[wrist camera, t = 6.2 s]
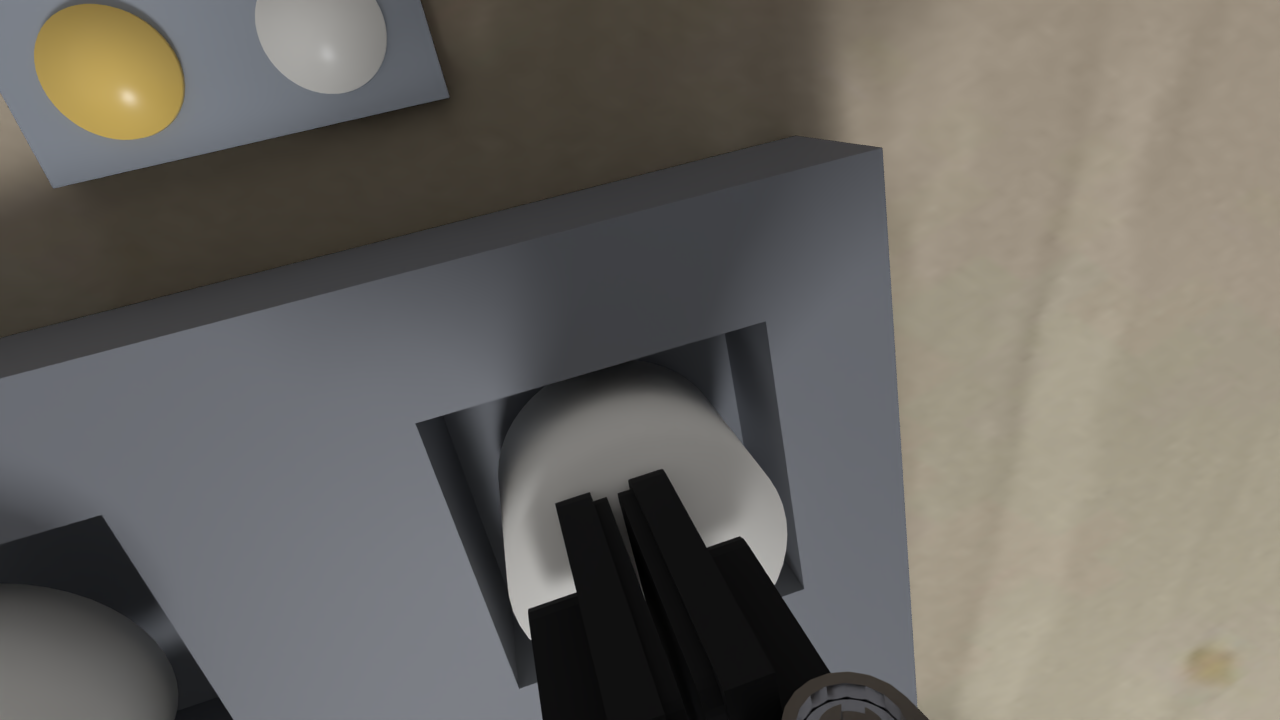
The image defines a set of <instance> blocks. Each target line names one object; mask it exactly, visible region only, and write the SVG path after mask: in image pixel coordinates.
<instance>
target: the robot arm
mask: <svg viewBox="0 0 1280 720" xmlns="http://www.w3.org/2000/svg"><path fill="white" fill-rule="evenodd" d="M628 483H629V488H630V489H629V490H626V491H623V492H620V493H618V499H619V503H620V506H621V510H622V514H623V518H624V521H625V525H626V529H627V533H628V536H629V540H630V544H631V548H632V551H633V555H634V559H635V563H636V566H637V570H638V574H639V578H640V581H641V585H642V589H643V592H642V590H641V587H640V584H639V582H638V579H637V576H636V574H635V571H634V568H633V566H632V563H631V560H630V558H629V555H628V552H627V550H626V547H625V544H624V542H623V539H622V536H621V534H620V531H619V528H618V526H617V523H616V520H615V518H614V515H613V512H612V510H611V507H610V504H609V501H608V499H607V497H605V498H602V499H598V500H595V501H593V499H592V496H591V493H590V492H588V493H585V494H582V495H579V496H576V497H573V498H570V499H567V500H563V501H560V502H557V503H555V506H556V510H557V514H558V518H559V522H560V527H561V531H562V535H563V539H564V543H565V547H566V551H567V555H568V559H569V564H570V568H571V572H572V576H573V580H574V584H575V588H576V593H573V594H570V595H567V596H564V597H561V598H558V599H555V600H553V601H550V602H547V603H544V604H541V605H538V606H535V607H532V608H529V609H528V619H529V627H530V634H531V641H532V648H533V655H534V662H535V669H536V676H537V684H538V691H539V698H540V705H541V712H542V719H543V720H929V719H928V718H927V717H926V716H925V715H924V714H923V713H922V712H921V711H920V710H919V709H918V708H917V707H916V706H915V705H914V704H913V703H912V702H911V701H910V700H909V699H908V698H907V697H906V696H905V695H904V694H902V693H901V692H900V691H898V690H897V689H896V688H895V687H893V686H892V685H891V684H889V683H887V682H885V681H882V680H880V679H878V678H875V677H873V676H871V675H867V674H861V673H855V672H849V671H848V672H836V673H831V672H830V671H829V669H828V668H827V666H826V665H825V663H824V662H823V660H822V658H821V657H820V655H819V654H818V652H817V651H816V649H815V648H814V646H813V645H812V643H811V641H810V640H809V638H808V637H807V635H806V634H805V632H804V631H803V629H802V627H801V626H800V624H799V623H798V621H797V620H796V618H795V617H794V615H793V613H792V612H791V610H790V609H789V607H788V606H787V604H786V603H785V601H784V599H783V598H782V596H781V595H780V593H779V592H778V590H777V589H776V587H775V585H774V584H773V582H772V581H771V579H770V578H769V576H768V575H767V573H766V572H765V570H764V568H763V567H762V565H761V564H760V562H759V561H758V559H757V558H756V556H755V554H754V553H753V551H752V550H751V548H750V547H749V545H748V544H747V542H746V541H745V540H744V539H743V538H742V537H740V536H739V537H736V538H733V539H730V540H727V541H724V542H721V543H718V544H715V545H713V546H710V547H706V545H705V544H704V542H703V540H702V538H701V536H700V534H699V533H698V531H697V529H696V527H695V525H694V524H693V522H692V520H691V518H690V516H689V514H688V513H687V511H686V509H685V507H684V505H683V504H682V502H681V500H680V498H679V496H678V494H677V493H676V491H675V489H674V487H673V485H672V484H671V482H670V480H669V478H668V476H667V474H666V473H665V471H664V470H663V469H660V470H656V471H653V472H650V473H647V474H644V475H641V476H638V477H635V478H632V479H629V480H628ZM643 593H644V595H643ZM644 596H645V598H644ZM645 600H646V601H645Z"/></svg>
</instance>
